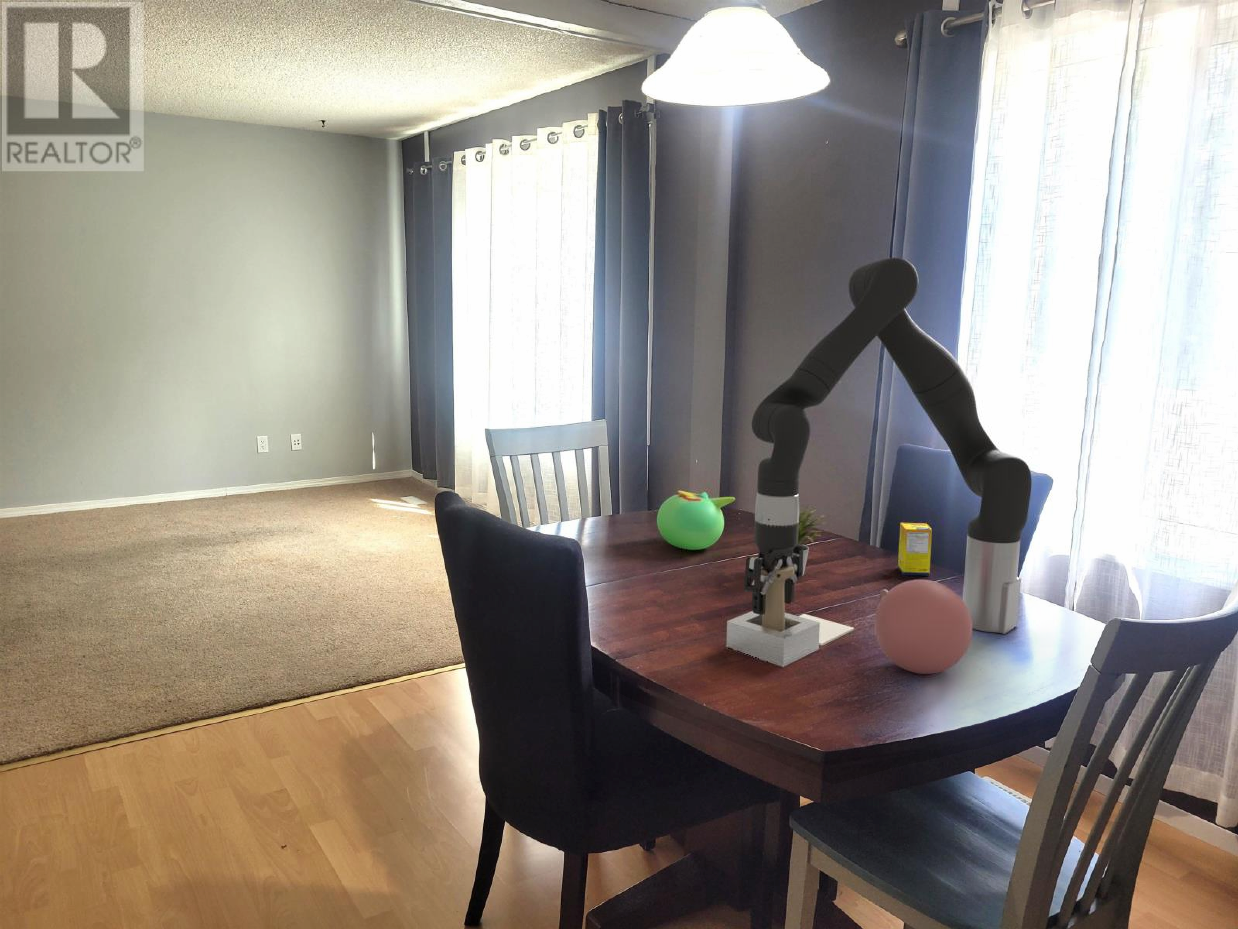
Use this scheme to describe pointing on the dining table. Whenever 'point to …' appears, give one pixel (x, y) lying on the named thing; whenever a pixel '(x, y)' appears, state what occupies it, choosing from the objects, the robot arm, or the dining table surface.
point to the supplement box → (914, 549)
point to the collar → (773, 638)
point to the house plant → (802, 530)
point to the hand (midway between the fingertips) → (773, 608)
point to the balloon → (922, 626)
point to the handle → (776, 600)
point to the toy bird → (692, 520)
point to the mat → (828, 629)
